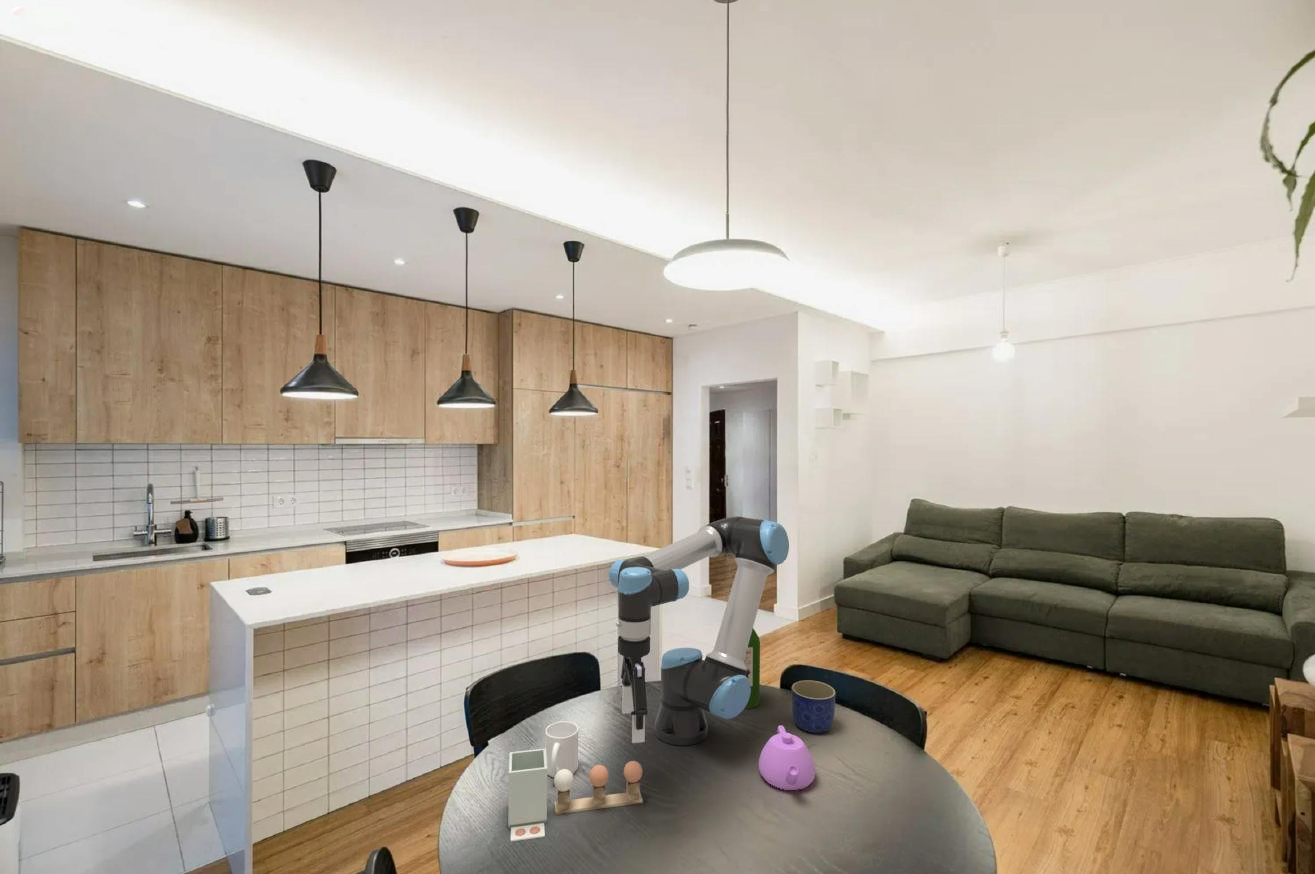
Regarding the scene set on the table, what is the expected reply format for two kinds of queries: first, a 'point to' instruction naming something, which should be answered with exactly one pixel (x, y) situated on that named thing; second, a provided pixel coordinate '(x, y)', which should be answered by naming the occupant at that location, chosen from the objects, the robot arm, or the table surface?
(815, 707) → the planter
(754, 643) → the wine bottle
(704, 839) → the table surface
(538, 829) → the card
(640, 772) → the ball
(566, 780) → the ball
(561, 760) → the mug
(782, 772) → the teapot
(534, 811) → the grey-green tall hollow box
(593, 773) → the ball
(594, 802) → the rack
